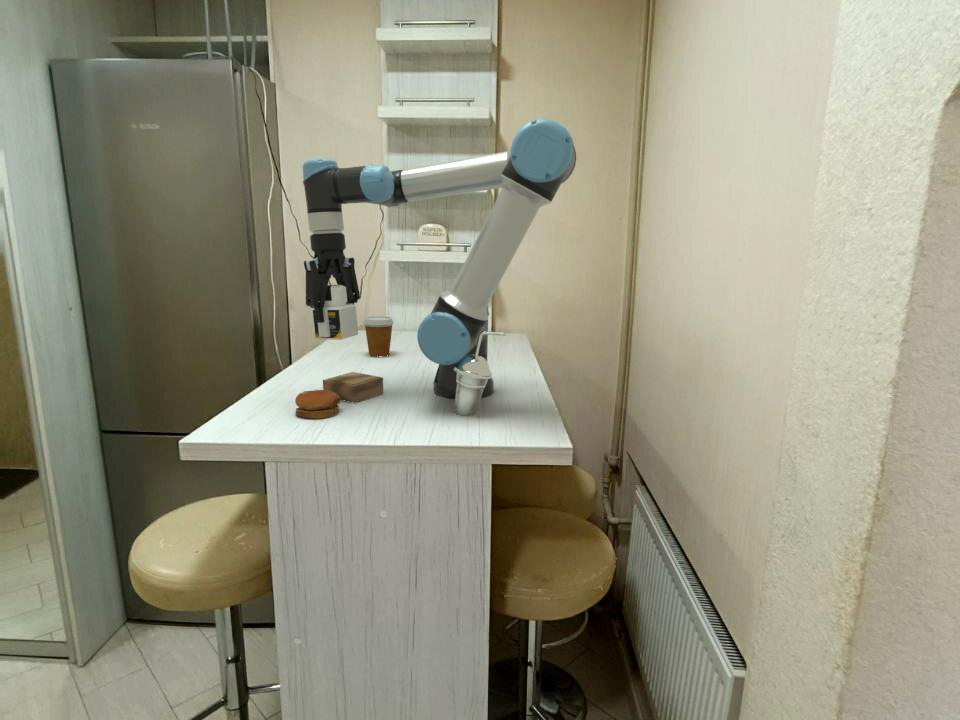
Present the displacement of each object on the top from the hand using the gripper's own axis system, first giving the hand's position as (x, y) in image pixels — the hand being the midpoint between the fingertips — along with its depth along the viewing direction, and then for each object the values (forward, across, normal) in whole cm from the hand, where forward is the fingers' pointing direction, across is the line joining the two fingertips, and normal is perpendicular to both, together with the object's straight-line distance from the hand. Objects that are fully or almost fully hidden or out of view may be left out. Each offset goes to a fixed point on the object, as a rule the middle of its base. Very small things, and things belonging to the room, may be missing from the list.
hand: (337, 333), depth 129 cm
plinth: (+15, -3, 0) cm, 16 cm away
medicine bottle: (+1, 0, 0) cm, 1 cm away
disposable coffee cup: (+15, -42, -24) cm, 50 cm away
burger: (+16, +12, +3) cm, 20 cm away
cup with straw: (+18, -5, +30) cm, 36 cm away
